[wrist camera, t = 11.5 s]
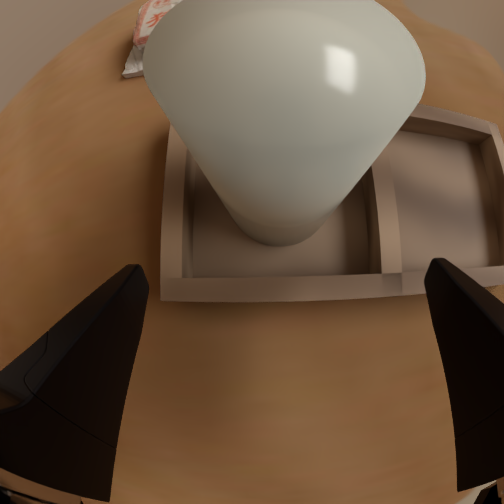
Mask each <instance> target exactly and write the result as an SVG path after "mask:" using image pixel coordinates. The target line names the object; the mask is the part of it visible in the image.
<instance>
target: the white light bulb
mask: <svg viewBox="0 0 504 504" xmlns="http://www.w3.org/2000/svg"><path fill="white" fill-rule="evenodd" d="M143 73H144V77H145V81H146V83H147V85H148V87H149V89H150V91H151V93H152V94H153V96H154V97H155V99H156V100H157V102H158V103H159V105H160V106H161V108H162V110H163V111H164V113H165V114H166V116H167V117H168V119H169V120H170V122H171V124H172V125H173V127H174V128H175V130H176V131H177V133H178V134H179V136H180V137H181V139H182V141H183V142H184V144H185V145H186V147H187V148H188V150H189V151H190V153H191V155H192V156H193V158H194V159H195V161H196V162H197V164H198V165H199V167H200V169H201V170H202V172H203V173H204V175H205V176H206V178H207V179H208V181H209V182H210V184H211V186H212V187H213V189H214V190H215V192H216V193H217V195H218V196H219V198H220V200H221V201H222V203H223V204H224V206H225V207H226V209H227V210H228V212H229V214H230V215H231V217H232V218H233V220H234V221H235V223H236V224H237V226H238V227H239V228H240V229H241V230H242V231H243V232H244V233H245V234H246V235H247V236H248V237H250V238H252V239H253V240H255V241H257V242H259V243H262V244H265V245H269V246H279V247H283V246H290V245H295V244H298V243H300V242H303V241H304V240H306V239H308V238H309V237H311V236H312V235H313V234H315V233H316V232H317V231H318V230H319V228H320V227H321V226H322V225H323V224H324V222H325V221H326V220H327V219H328V218H329V216H330V215H331V214H332V213H333V212H334V210H335V209H336V208H337V207H338V206H339V204H340V203H341V202H342V201H343V199H344V198H345V197H346V196H347V195H348V193H349V192H350V191H351V190H352V188H353V187H354V186H355V185H356V184H357V182H358V181H359V180H360V179H361V177H362V176H363V175H364V174H365V172H366V171H367V170H368V169H369V167H370V166H371V165H372V163H373V162H374V161H375V160H376V158H377V157H378V156H379V155H380V153H381V152H382V151H383V149H384V148H385V147H386V146H387V144H388V143H389V142H390V140H391V139H392V138H393V137H394V135H395V134H396V133H397V131H398V130H399V129H400V127H401V126H402V125H403V123H404V122H405V121H406V120H407V118H408V117H409V116H410V114H411V113H412V112H413V110H414V109H415V107H416V106H417V104H418V103H419V101H420V99H421V97H422V94H423V91H424V88H425V80H426V74H425V65H424V61H423V57H422V54H421V52H420V50H419V48H418V45H417V43H416V42H415V40H414V39H413V37H412V35H411V34H410V33H409V31H408V30H407V29H406V28H405V27H404V25H403V24H402V23H401V22H400V21H399V20H398V19H397V18H396V17H395V16H394V15H393V14H391V13H390V12H389V11H388V10H386V9H385V8H384V7H383V6H381V5H380V4H378V3H377V2H375V1H374V0H182V1H181V2H180V3H178V4H177V5H176V6H174V7H173V8H172V9H171V10H170V11H169V12H167V13H166V14H165V15H164V16H163V17H162V19H161V20H160V21H159V22H158V23H157V25H156V26H155V27H154V29H153V30H152V32H151V34H150V35H149V38H148V40H147V42H146V45H145V48H144V53H143Z"/></svg>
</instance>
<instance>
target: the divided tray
mask: <svg viewBox="0 0 504 504" xmlns="http://www.w3.org/2000/svg"><path fill="white" fill-rule="evenodd" d="M440 257H442V258H445V259H447V260H448V261H449V262H451V263H452V264H454V265H455V266H456V267H458V268H459V269H460V270H462V271H463V272H464V273H466V274H467V275H468V276H470V277H471V278H472V279H474V280H475V281H476V282H477V283H479V284H480V285H481V286H483V287H487V286H495V285H502V284H504V144H503V141H502V138H501V135H500V132H499V130H498V127H497V124H494V123H491V122H488V121H485V120H482V119H479V118H475V117H472V116H468V115H465V114H461V113H457V112H454V111H450V110H446V109H441V108H437V107H432V106H428V105H423V104H417V106H416V107H415V109H414V110H413V112H412V113H411V114H410V116H409V117H408V118H407V120H406V121H405V122H404V123H403V125H402V126H401V127H400V129H399V130H398V131H397V133H396V134H395V135H394V137H393V138H392V139H391V140H390V142H389V143H388V144H387V146H386V147H385V148H384V149H383V151H382V152H381V153H380V155H379V156H378V157H377V158H376V160H375V161H374V162H373V163H372V165H371V166H370V167H369V169H368V170H367V171H366V172H365V174H364V175H363V176H362V177H361V179H360V180H359V181H358V182H357V184H356V185H355V186H354V187H353V188H352V190H351V191H350V192H349V193H348V195H347V196H346V197H345V198H344V199H343V201H342V202H341V203H340V204H339V206H338V207H337V208H336V209H335V210H334V212H333V213H332V214H331V215H330V216H329V218H328V219H327V220H326V221H325V222H324V224H323V225H322V226H321V227H320V228H319V230H318V231H317V232H316V233H315V234H313V235H312V236H311V237H309V238H308V239H306V240H304V241H303V242H300V243H298V244H295V245H290V246H283V247H279V246H269V245H265V244H262V243H259V242H257V241H255V240H253V239H252V238H250V237H248V236H247V235H246V234H245V233H244V232H243V231H242V230H241V229H240V228H239V227H238V226H237V224H236V223H235V221H234V220H233V218H232V217H231V215H230V214H229V212H228V210H227V209H226V207H225V206H224V204H223V203H222V201H221V200H220V198H219V196H218V195H217V193H216V192H215V190H214V189H213V187H212V186H211V184H210V182H209V181H208V179H207V178H206V176H205V175H204V173H203V172H202V170H201V169H200V167H199V165H198V164H197V162H196V161H195V159H194V158H193V156H192V155H191V153H190V151H189V150H188V148H187V147H186V145H185V144H184V142H183V141H182V139H181V137H180V136H179V134H178V133H177V131H176V130H175V128H174V127H173V125H172V124H171V123H170V130H169V139H168V147H167V157H166V167H165V178H164V190H163V205H162V224H161V255H160V301H181V302H289V301H320V300H343V299H361V298H377V297H391V296H403V295H415V294H426V290H425V286H424V277H425V275H426V272H427V270H428V267H429V265H430V262H431V260H432V259H433V258H440Z"/></svg>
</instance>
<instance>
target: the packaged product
mask: <svg viewBox="0 0 504 504" xmlns="http://www.w3.org/2000/svg"><path fill="white" fill-rule="evenodd" d="M181 1H182V0H149V1H148V2H147V3H145V4H143V5H142V6H141V8H140V10H139V13H138V19H137V22H136V27H135V29H134V32H133V43H134V45H133V48H132V50H131V52H130V54H129V57H128V59H127V62H126V64H125V70H124V72H123V73H122V75H123V76H124V77H125V78H131V77H136V76H142V75H144V73H143V53H144V48H145V45H146V42H147V40H148V38H149V35H150V34H151V32H152V30H153V29H154V27H155V26H156V25H157V23H158V22H159V21H160V20H161V19H162V17H163V16H164V15H165V14H166V13H167V12H169V11H170V10H171V9H172V8H173V7H174V6H176V5H177V4H178V3H180V2H181Z"/></svg>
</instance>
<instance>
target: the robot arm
mask: <svg viewBox="0 0 504 504" xmlns="http://www.w3.org/2000/svg"><path fill="white" fill-rule="evenodd" d="M424 286H425V290H426V295H427V299H428V304H429V309H430V314H431V319H432V323H433V328H434V332H435V335H436V339H437V343H438V347H439V351H440V355H441V359H442V363H443V368H444V372H445V377H446V382H447V387H448V393H449V398H450V405H451V411H452V418H453V426H454V435H455V448H456V463H457V491H458V492H460V491H464V490H467V489H471V488H474V487H477V486H480V485H483V484H486V483H488V482H492V481H494V480H496V482H495V483H493V484H491V485H490V486H488V487H486V488H484V489H483V490H481V492H480V493H479V495H478V497H477V499H476V501H475V502H474V504H504V304H503V303H502V302H501V301H500V300H499V299H497V298H496V297H495V296H494V295H492V294H491V293H490V292H489V291H488V290H486V289H485V288H484V287H483V286H481V285H480V284H479V283H477V282H476V281H475V280H474V279H472V278H471V277H470V276H468V275H467V274H466V273H464V272H463V271H462V270H460V269H459V268H458V267H456V266H455V265H454V264H452V263H451V262H449V261H448V260H447V259H445V258H442V257H440V258H433V259H432V260H431V262H430V265H429V267H428V270H427V272H426V275H425V277H424ZM148 293H149V284H148V281H147V279H146V276H145V274H144V271H143V269H142V267H141V266H140V265H139V264H128V265H126V266H125V267H124V268H122V269H121V270H120V271H119V272H117V273H116V274H115V275H114V276H112V277H111V278H110V279H109V280H107V281H106V282H105V283H104V284H102V285H101V286H100V287H99V288H97V289H96V290H95V291H94V292H92V293H91V294H90V295H89V296H88V297H86V298H85V299H84V300H83V301H82V302H80V303H79V304H78V305H77V306H76V307H75V308H73V309H72V310H71V311H70V312H69V313H67V314H66V315H65V316H64V317H63V318H62V319H61V320H59V321H58V322H57V323H56V324H55V325H54V326H53V327H51V328H50V329H49V331H47V332H46V333H45V334H44V335H43V336H41V337H40V338H39V339H38V340H37V341H36V342H35V343H34V344H32V345H31V346H30V347H29V348H28V349H27V350H25V351H24V352H23V353H22V354H21V355H19V356H18V357H17V358H16V359H15V360H13V361H12V362H11V363H10V364H9V365H7V366H6V367H5V368H4V369H3V370H1V371H0V504H83V502H82V501H81V497H85V498H90V499H95V500H100V501H105V502H109V501H110V495H111V485H112V477H113V469H114V462H115V456H116V448H117V442H118V436H119V430H120V425H121V419H122V414H123V409H124V404H125V400H126V395H127V390H128V386H129V381H130V377H131V373H132V369H133V364H134V360H135V356H136V352H137V348H138V345H139V341H140V337H141V333H142V328H143V322H144V316H145V310H146V304H147V298H148Z"/></svg>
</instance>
